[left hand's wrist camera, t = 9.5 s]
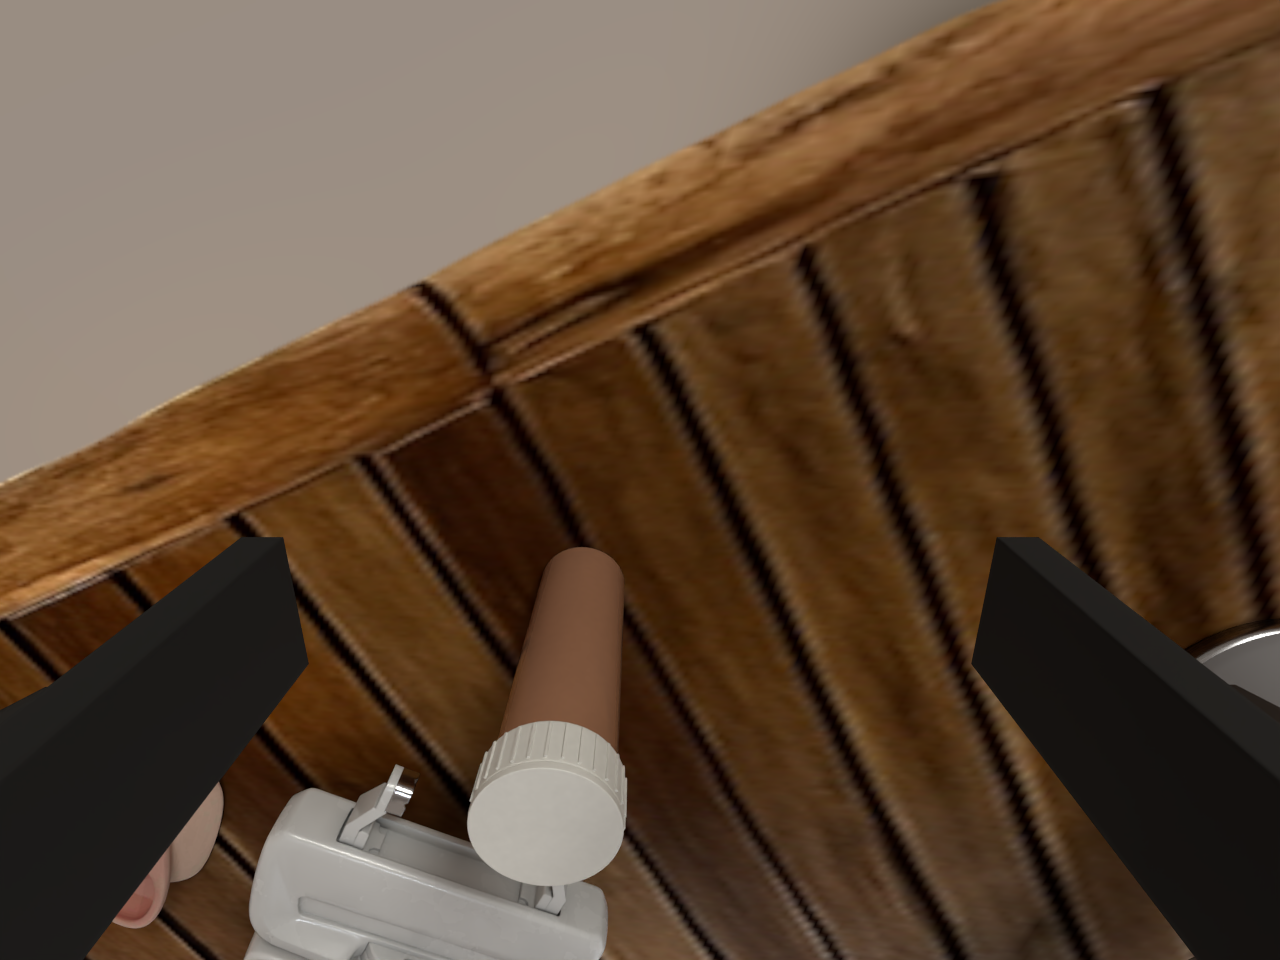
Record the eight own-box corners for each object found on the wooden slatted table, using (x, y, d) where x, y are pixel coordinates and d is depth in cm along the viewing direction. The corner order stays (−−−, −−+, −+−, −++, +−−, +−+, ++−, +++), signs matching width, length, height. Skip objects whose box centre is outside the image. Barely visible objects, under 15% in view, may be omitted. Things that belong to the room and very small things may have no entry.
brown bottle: (527, 598, 40) (455, 839, 24) (564, 532, 39) (514, 744, 23) (600, 632, 41) (576, 887, 25) (639, 569, 40) (640, 798, 24)
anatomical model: (33, 736, 39) (225, 820, 41) (86, 691, 42) (260, 770, 45) (-29, 878, 42) (150, 948, 45) (25, 825, 46) (187, 892, 48)
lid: (455, 799, 26) (438, 852, 24) (518, 695, 25) (507, 741, 22) (584, 852, 27) (579, 907, 25) (653, 755, 26) (655, 805, 23)
